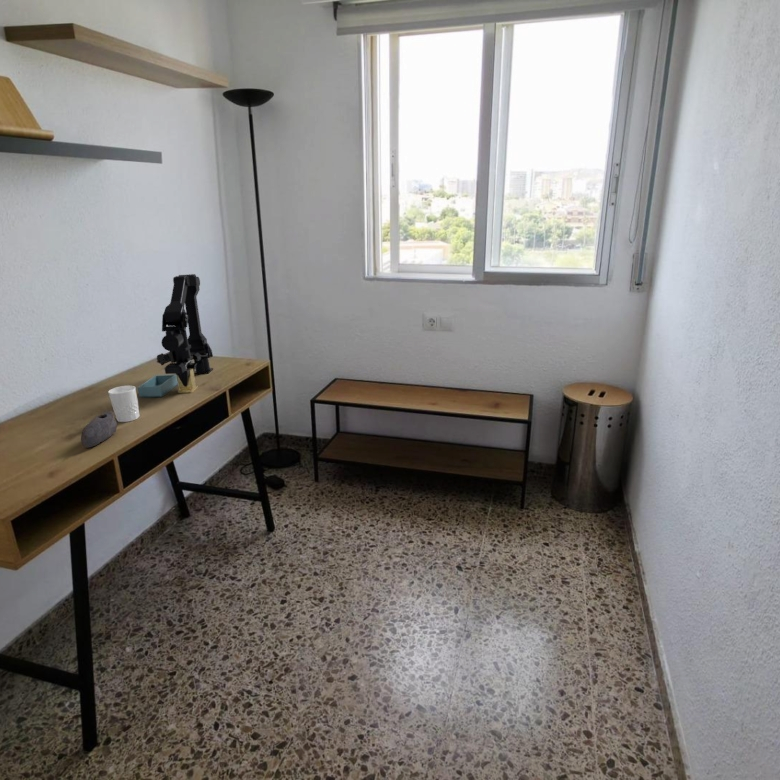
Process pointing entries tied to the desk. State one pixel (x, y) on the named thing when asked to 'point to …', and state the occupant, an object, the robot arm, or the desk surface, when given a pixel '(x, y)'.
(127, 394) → the white cup
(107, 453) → the desk surface
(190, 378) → the brass bracket
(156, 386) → the blue rectangular open bin
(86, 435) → the perforated stone tool
